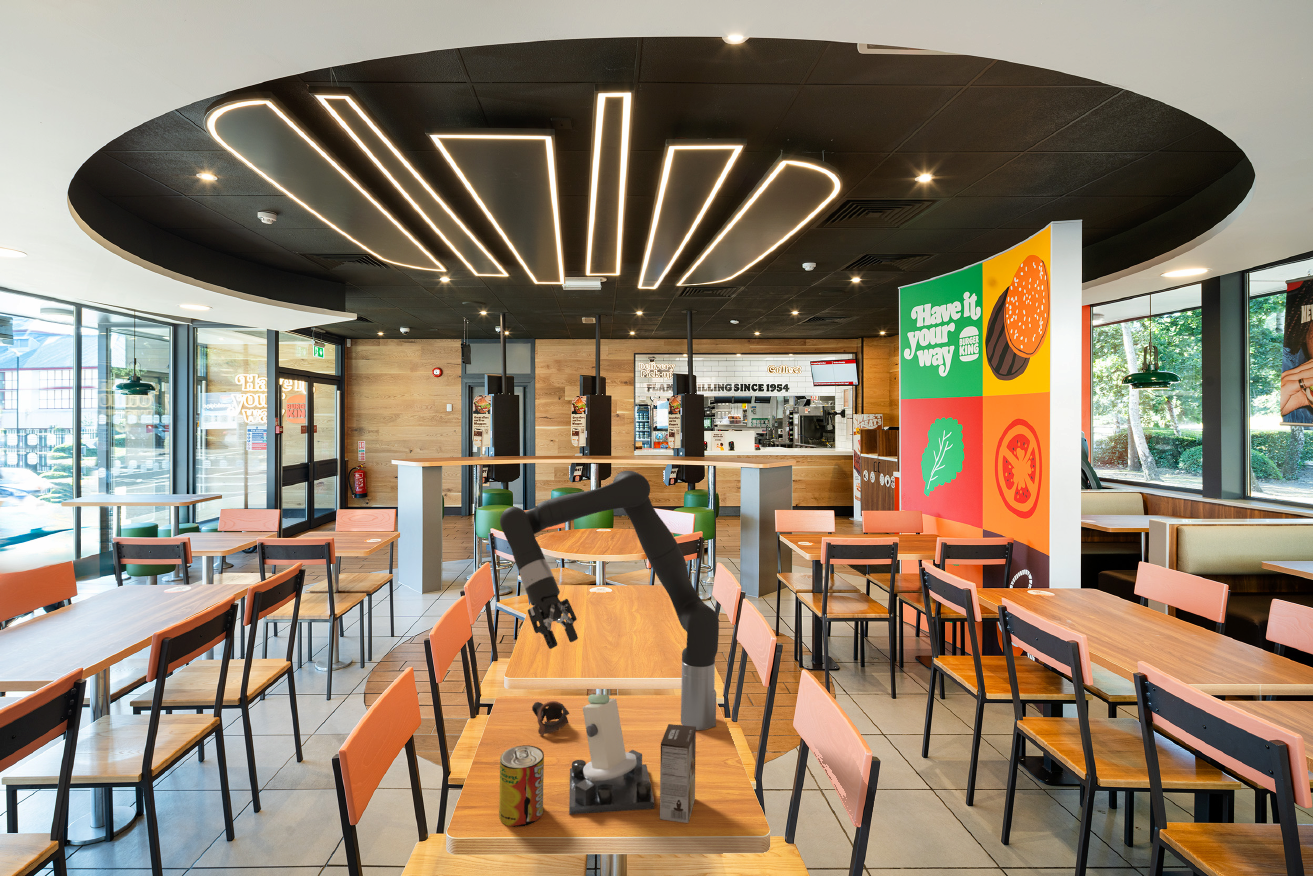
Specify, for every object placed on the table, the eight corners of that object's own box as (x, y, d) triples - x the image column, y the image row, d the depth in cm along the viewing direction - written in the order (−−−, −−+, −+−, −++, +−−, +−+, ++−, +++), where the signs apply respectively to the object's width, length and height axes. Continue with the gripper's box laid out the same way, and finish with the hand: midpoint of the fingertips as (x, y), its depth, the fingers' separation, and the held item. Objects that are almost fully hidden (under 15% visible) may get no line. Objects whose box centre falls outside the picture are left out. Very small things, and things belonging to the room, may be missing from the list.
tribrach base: (646, 769, 144) (646, 749, 144) (654, 809, 129) (654, 786, 129) (569, 774, 142) (570, 752, 142) (569, 815, 127) (569, 791, 127)
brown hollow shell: (577, 725, 167) (575, 706, 163) (556, 753, 160) (554, 734, 156) (542, 705, 172) (540, 686, 168) (520, 732, 165) (518, 713, 161)
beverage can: (502, 831, 121) (503, 771, 121) (495, 806, 129) (496, 750, 129) (547, 820, 125) (548, 762, 125) (537, 796, 133) (538, 742, 133)
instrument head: (610, 759, 144) (597, 685, 146) (648, 762, 137) (634, 685, 139) (572, 782, 134) (560, 702, 137) (612, 787, 127) (598, 703, 130)
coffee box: (666, 794, 135) (668, 722, 135) (695, 798, 133) (696, 725, 133) (658, 820, 126) (660, 742, 126) (689, 824, 124) (690, 746, 124)
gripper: (532, 577, 143) (558, 643, 137) (566, 572, 155) (592, 632, 150) (509, 592, 145) (534, 656, 140) (545, 586, 158) (569, 645, 152)
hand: (564, 644), depth 145 cm, fingers open, 8 cm apart
